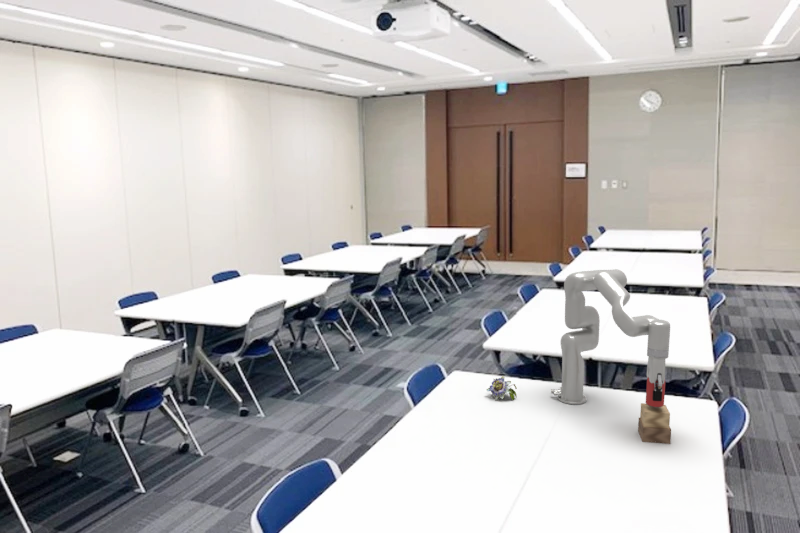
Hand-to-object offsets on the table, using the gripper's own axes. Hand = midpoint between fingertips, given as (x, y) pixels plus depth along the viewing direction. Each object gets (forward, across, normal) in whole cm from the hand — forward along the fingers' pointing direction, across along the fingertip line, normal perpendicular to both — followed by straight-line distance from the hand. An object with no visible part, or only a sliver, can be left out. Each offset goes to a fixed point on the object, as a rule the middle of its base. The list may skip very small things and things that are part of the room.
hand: (655, 396), depth 239 cm
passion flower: (+17, -33, -59) cm, 70 cm away
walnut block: (+17, 0, 0) cm, 17 cm away
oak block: (+11, 0, 0) cm, 11 cm away
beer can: (+3, 0, 0) cm, 3 cm away
